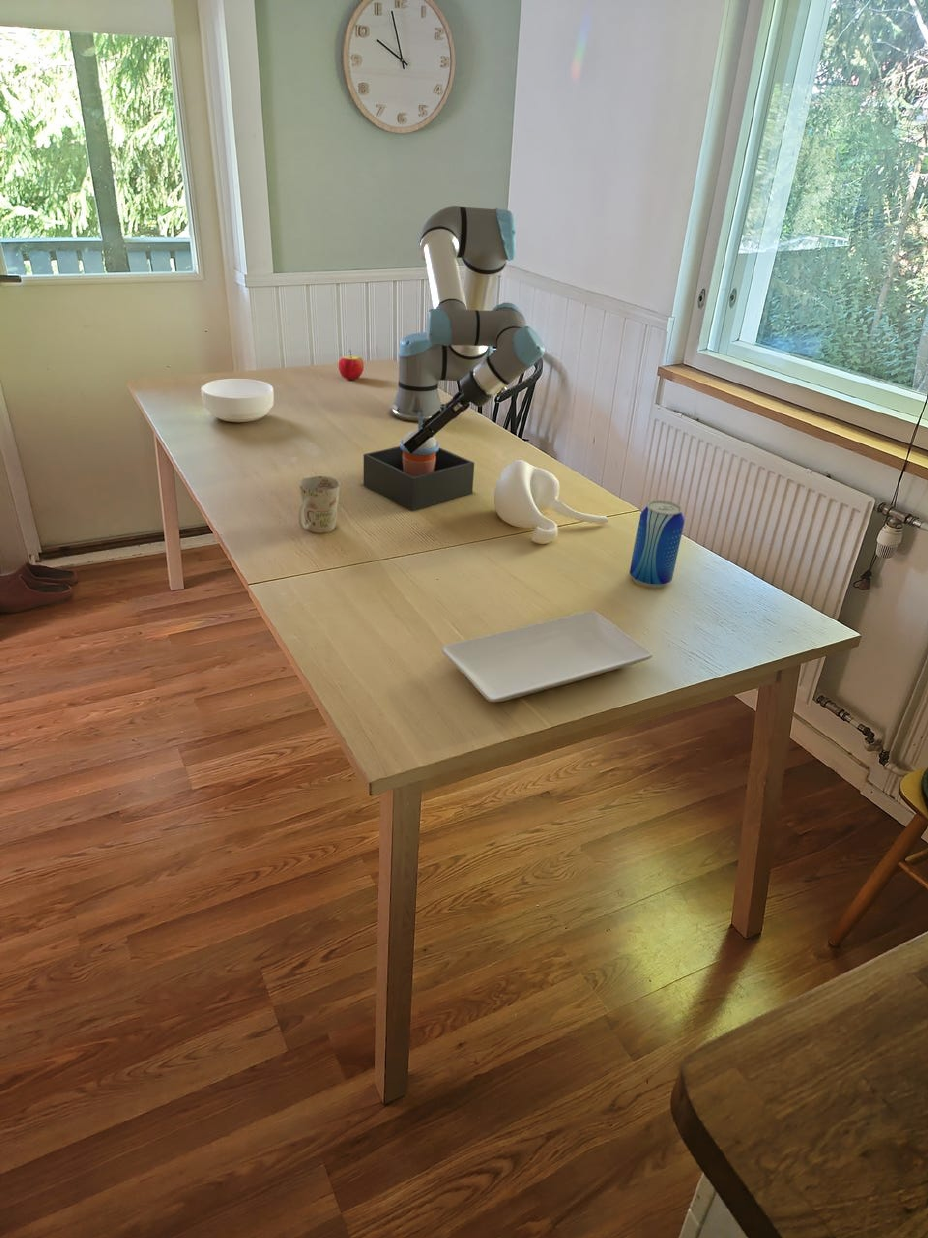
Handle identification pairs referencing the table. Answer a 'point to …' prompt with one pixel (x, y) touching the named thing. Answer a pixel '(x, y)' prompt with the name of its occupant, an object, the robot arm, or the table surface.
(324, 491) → the mug
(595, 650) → the tray
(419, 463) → the cup with straw
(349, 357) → the apple
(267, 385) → the bowl
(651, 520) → the beer can
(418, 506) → the bin
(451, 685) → the table surface
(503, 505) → the stomach
